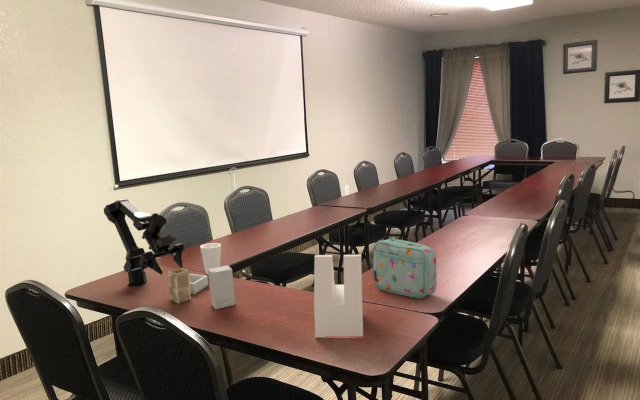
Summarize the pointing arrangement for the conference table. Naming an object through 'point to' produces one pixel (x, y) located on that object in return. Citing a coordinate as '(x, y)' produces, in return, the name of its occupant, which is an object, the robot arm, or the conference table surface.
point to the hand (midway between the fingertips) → (172, 270)
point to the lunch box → (404, 268)
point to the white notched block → (338, 298)
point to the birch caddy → (179, 285)
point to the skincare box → (221, 287)
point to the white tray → (197, 283)
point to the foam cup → (211, 255)
